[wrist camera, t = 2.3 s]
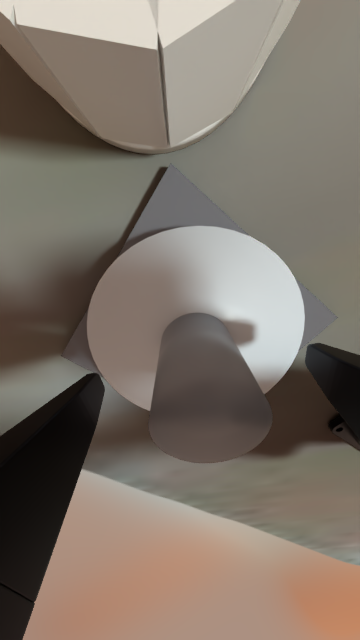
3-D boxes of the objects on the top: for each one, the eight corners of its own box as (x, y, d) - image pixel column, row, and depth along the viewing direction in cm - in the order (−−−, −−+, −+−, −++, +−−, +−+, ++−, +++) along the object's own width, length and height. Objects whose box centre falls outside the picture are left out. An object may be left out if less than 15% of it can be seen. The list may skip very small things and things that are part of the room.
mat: (332, 314, 10) (337, 317, 10) (206, 424, 14) (206, 429, 13) (170, 166, 7) (170, 162, 7) (64, 352, 11) (60, 355, 10)
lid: (337, 317, 10) (494, 394, 5) (206, 429, 13) (223, 537, 8) (170, 163, 7) (157, -7, 2) (61, 355, 11) (-39, 454, 6)
